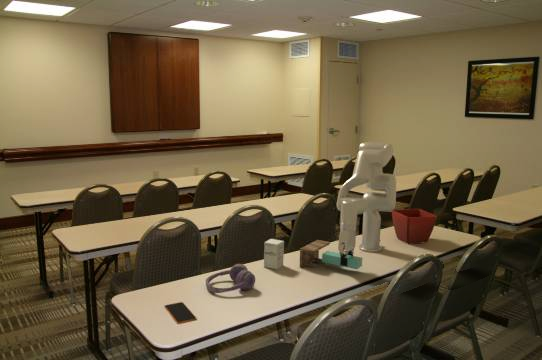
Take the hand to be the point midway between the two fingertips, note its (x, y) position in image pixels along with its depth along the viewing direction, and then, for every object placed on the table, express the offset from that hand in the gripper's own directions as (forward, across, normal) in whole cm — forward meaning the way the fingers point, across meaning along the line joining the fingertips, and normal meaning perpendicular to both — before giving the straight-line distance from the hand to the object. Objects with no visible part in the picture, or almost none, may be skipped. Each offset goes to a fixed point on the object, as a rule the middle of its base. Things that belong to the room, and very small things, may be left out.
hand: (346, 263), depth 220 cm
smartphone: (+5, +78, -32) cm, 84 cm away
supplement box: (+4, +15, -32) cm, 35 cm away
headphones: (+5, +48, -33) cm, 58 cm away
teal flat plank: (+1, 0, -2) cm, 3 cm away
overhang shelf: (+4, 0, -17) cm, 17 cm away
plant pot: (+4, -70, +10) cm, 71 cm away
